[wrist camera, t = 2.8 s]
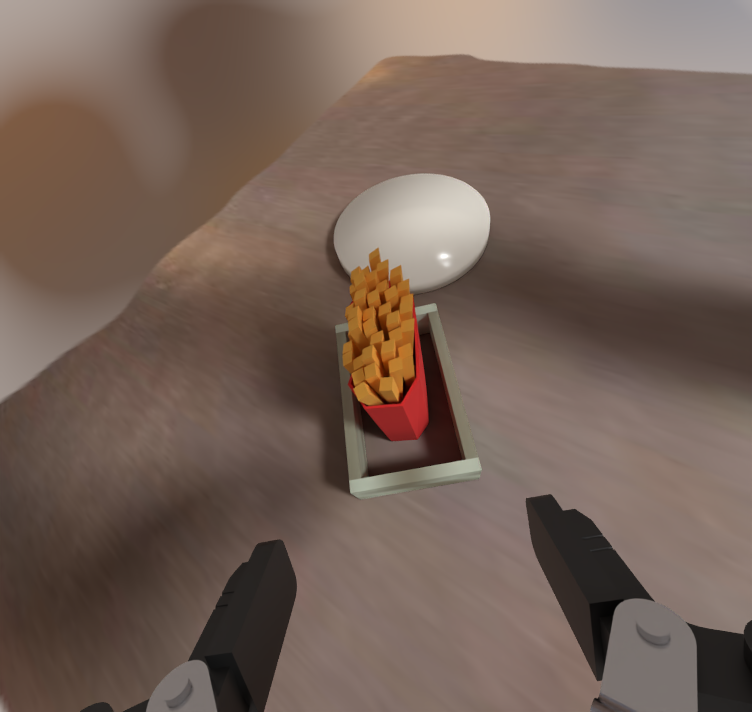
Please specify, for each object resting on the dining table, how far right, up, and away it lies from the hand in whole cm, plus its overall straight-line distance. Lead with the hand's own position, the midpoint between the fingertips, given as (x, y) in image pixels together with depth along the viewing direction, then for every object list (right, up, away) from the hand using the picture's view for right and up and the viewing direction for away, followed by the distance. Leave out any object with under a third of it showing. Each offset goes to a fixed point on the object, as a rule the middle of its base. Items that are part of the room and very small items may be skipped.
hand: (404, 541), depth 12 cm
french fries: (+1, +2, +18) cm, 18 cm away
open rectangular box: (+1, +2, +18) cm, 18 cm away
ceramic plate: (+3, +19, +27) cm, 33 cm away
